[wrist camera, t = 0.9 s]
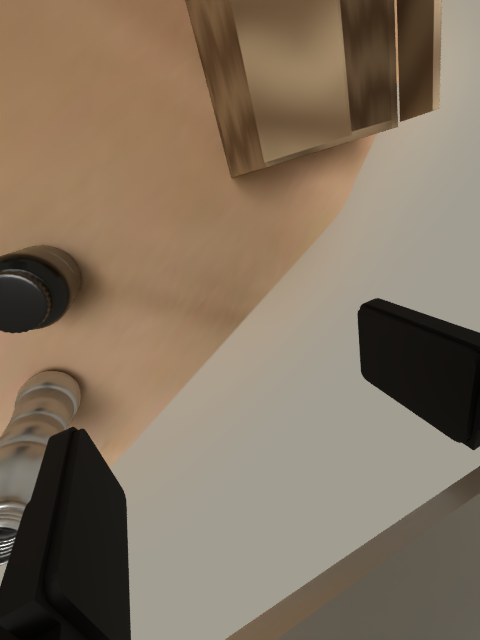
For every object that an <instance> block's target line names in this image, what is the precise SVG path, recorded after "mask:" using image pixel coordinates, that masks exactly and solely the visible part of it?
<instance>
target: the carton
mask: <svg viewBox="0 0 480 640" xmlns="http://www.w3.org/2000/svg"><path fill="white" fill-rule="evenodd" d="M186 4H187V8H188V12H189V16H190V20H191V23H192V27H193V31H194V35H195V39H196V43H197V47H198V50H199V54H200V58H201V62H202V66H203V70H204V74H205V78H206V81H207V85H208V89H209V93H210V97H211V101H212V105H213V109H214V112H215V116H216V120H217V124H218V128H219V132H220V136H221V139H222V143H223V147H224V151H225V155H226V159H227V163H228V167H229V170H230V174H231V178H232V177H236V176H239V175H242V174H245V173H249V172H252V171H255V170H259V169H262V168H265V167H268V166H272V165H275V164H278V163H281V162H285V161H288V160H291V159H295V158H298V157H301V156H304V155H308V154H311V153H314V152H317V151H321V150H324V149H327V148H330V147H334V146H337V145H340V144H343V143H347V142H350V141H353V140H357V139H360V138H363V137H366V136H370V135H373V134H376V133H379V132H383V131H386V130H389V129H392V128H396V127H398V116H397V81H396V47H395V13H394V0H340V8H341V20H342V31H343V42H344V53H345V65H346V76H347V87H348V98H349V110H350V121H351V132H352V135H350V136H347V137H344V138H341V139H337V140H334V141H331V142H328V143H325V144H322V145H319V146H315V147H312V148H309V149H306V150H303V151H300V152H297V153H294V154H290V155H287V156H284V157H281V158H278V159H275V160H272V161H268V162H265V163H264V158H263V154H262V149H261V144H260V139H259V134H258V130H257V125H256V120H255V115H254V111H253V106H252V101H251V96H250V91H249V87H248V82H247V77H246V72H245V67H244V63H243V58H242V53H241V48H240V44H239V39H238V34H237V29H236V24H235V20H234V15H233V10H232V5H231V1H230V0H186Z"/></svg>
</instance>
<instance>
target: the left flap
mask: <svg viewBox="0 0 480 640" xmlns="http://www.w3.org/2000/svg"><path fill="white" fill-rule="evenodd" d="M230 1H231V5H232V10H233V15H234V20H235V24H236V29H237V34H238V39H239V44H240V48H241V53H242V58H243V63H244V67H245V72H246V77H247V82H248V87H249V91H250V96H251V101H252V106H253V111H254V115H255V120H256V125H257V130H258V134H259V139H260V144H261V149H262V154H263V158H264V163H265V162H268V161H272V160H275V159H278V158H281V157H284V156H287V155H290V154H294V153H297V152H300V151H303V150H306V149H309V148H312V147H315V146H319V145H322V144H325V143H328V142H331V141H334V140H337V139H341V138H344V137H347V136H350V135H352V132H351V121H350V110H349V98H348V87H347V76H346V65H345V53H344V42H343V31H342V20H341V8H340V0H230Z"/></svg>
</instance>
